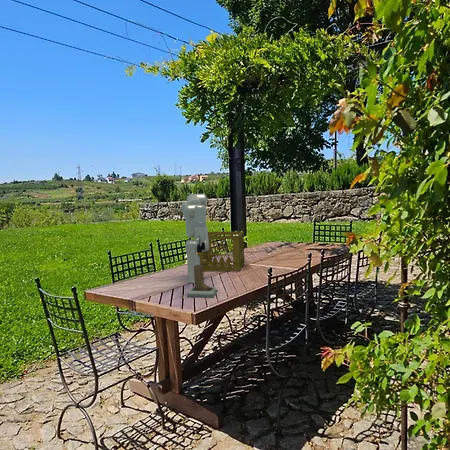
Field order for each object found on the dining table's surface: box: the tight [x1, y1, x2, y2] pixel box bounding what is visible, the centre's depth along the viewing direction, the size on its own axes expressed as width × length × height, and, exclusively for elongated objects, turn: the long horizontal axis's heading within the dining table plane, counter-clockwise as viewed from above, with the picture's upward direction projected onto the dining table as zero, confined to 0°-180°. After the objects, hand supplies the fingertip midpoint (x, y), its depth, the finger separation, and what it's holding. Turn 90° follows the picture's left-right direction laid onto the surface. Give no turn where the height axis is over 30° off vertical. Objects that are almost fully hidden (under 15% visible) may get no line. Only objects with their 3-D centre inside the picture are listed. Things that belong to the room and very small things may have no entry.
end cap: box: [186, 286, 219, 299], centre depth 256 cm, size 16×17×4 cm
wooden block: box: [194, 265, 211, 291], centre depth 255 cm, size 9×4×18 cm, turn 61°
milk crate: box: [197, 231, 246, 272], centre depth 344 cm, size 36×36×30 cm
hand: (201, 251), depth 254 cm, fingers open, 9 cm apart
